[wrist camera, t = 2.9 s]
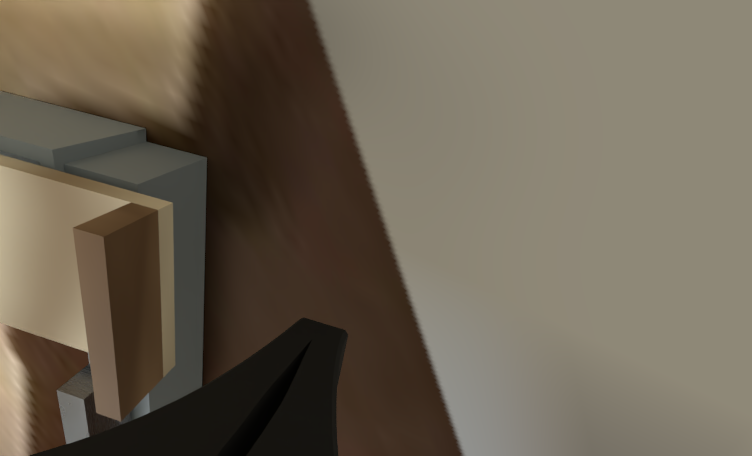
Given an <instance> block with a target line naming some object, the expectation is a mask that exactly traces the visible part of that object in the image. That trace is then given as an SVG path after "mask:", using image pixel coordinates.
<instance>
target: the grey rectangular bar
mask: <svg viewBox="0 0 752 456" xmlns="http://www.w3.org/2000/svg"><path fill="white" fill-rule="evenodd" d="M57 394H58V400H59V406H60V411H61V417H62V422H63V428H64V434H65V439H66V444H69V443H72V442H75V441H78V440H81V439H84V438H87V437H90V436H92V435H95V434H98V433H101V432H103V431H106V430H108V429H111V428H114V427H116V426H119V425H121V424H124V423H127V422H129V421H131V419H130V413H129V414H128V415H127V416H126V417H125V418H124V419H123V420H122V421H121V422H120V421H117V420H115V419H112V418H109V417H106V416H103V415H101V414H98V413H96V406H95V399H94V391H93V383H92V375H91V367H90V364H89V365H87V366H86V367H85V368H84V369H82V370H81V371H80V372H79V373H77V374H76V375H75V376H74V377H72V378H71V379H70V380H69V381H67V382H66V383H65V384H64V385H62V386H61V387H60V388H59V389H57Z"/></svg>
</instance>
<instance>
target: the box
mask: <svg viewBox="0 0 752 456" xmlns="http://www.w3.org/2000/svg"><path fill="white" fill-rule="evenodd" d="M0 151H2V152H5V153H9V154H13V155H16V156H20V157H23V158H27V159H31V160H34V161H38V162H40V166H43V167H47V168H51V169H54V170H58V171H61V172H65V173H68V174H72V175H76V176H79V177H83V178H86V179H90V180H94V181H97V182H101V183H104V184H108V185H111V186H115V187H119V188H122V189H126V190H129V191H133V192H136V193H140V194H144V195H147V196H151V197H154V198H158V199H161V200H165V201H169V202H172V203H173V243H174V310H175V366H174V367H173V368H172V369H171V370H170V371H169V372H168V373H167V374H166V375H165V376H164V377H163V378H162V380H161V381H160V382H159V383H158V384H157V385H156V386H155V387H154V388H153V389H152V390H151V391H150V392H149V393H148V394H147V395H146V396H145V397H144V398H143V399H142V400H141V401H140V402H139V403H138V405H137V406H136V407H135V408H134V409H133V410H132V411H131V412H130V419H131V421H132V420H134V419H136V418H139V417H141V416H143V415H146V414H148V413H150V412H152V411H154V410H157V409H159V408H161V407H163V406H165V405H167V404H169V403H171V402H173V401H176V400H178V399H180V398H182V397H184V396H185V395H187V394H189V393H191V392H193V391H195V390H197V389H199V388H200V387H202V369H203V322H204V275H205V228H206V181H207V157H203V156H199V155H195V154H192V153H188V152H184V151H180V150H176V149H173V148H169V147H165V146H161V145H157V144H153V143H150V142H146V128H142V127H138V126H134V125H130V124H127V123H123V122H119V121H115V120H111V119H107V118H103V117H99V116H96V115H92V114H88V113H84V112H80V111H76V110H72V109H69V108H65V107H61V106H57V105H53V104H49V103H45V102H41V101H38V100H34V99H30V98H26V97H22V96H18V95H14V94H11V93H7V92H3V91H0ZM88 357H89V352H88ZM89 364H90V360H89Z"/></svg>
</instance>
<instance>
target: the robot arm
mask: <svg viewBox="0 0 752 456" xmlns="http://www.w3.org/2000/svg"><path fill="white" fill-rule="evenodd" d="M347 337H348V334H347V332H346V331H345V330H343V329H340V328H336V327H333V326H330V325H326V324H323V323H320V322H316V321H313V320H310V319H307V318H302V319H300V320H298V321H297V322H296V323H295V324H294V325H292V326H291V327H290V328H289V329H287V330H286V331H285V332H283V333H282V334H281V335H280V336H278V337H277V338H276V339H274V340H273V341H272V342H270V343H269V344H268V345H266V346H265V347H263V348H262V349H261V350H259V351H258V352H256V353H255V354H253V355H252V356H251V357H249V358H248V359H246V360H245V361H243V362H242V363H240V364H239V365H237V366H235V367H234V368H232V369H231V370H229V371H227V372H226V373H224V374H223V375H221V376H220V377H218V378H216V379H215V380H213V381H211V382H209V383H208V384H206V385H204V386H202V387H200V388H199V389H197V390H195V391H193V392H191V393H189V394H187V395H185V396H184V397H182V398H180V399H178V400H176V401H173V402H171V403H169V404H167V405H165V406H163V407H161V408H159V409H157V410H154V411H152V412H150V413H148V414H146V415H143V416H141V417H139V418H136V419H134V420H132V421H129V422H127V423H124V424H121V425H119V426H116V427H114V428H111V429H108V430H106V431H103V432H101V433H98V434H95V435H92V436H90V437H87V438H84V439H81V440H78V441H75V442H72V443H69V444H66V445H63V446H59V447H56V448H53V449H50V450H46V451H43V452H40V453H37V454H33V455H30V456H338V446H337V427H336V396H337V385H338V381H339V376H340V371H341V366H342V361H343V356H344V352H345V347H346V342H347Z"/></svg>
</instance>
